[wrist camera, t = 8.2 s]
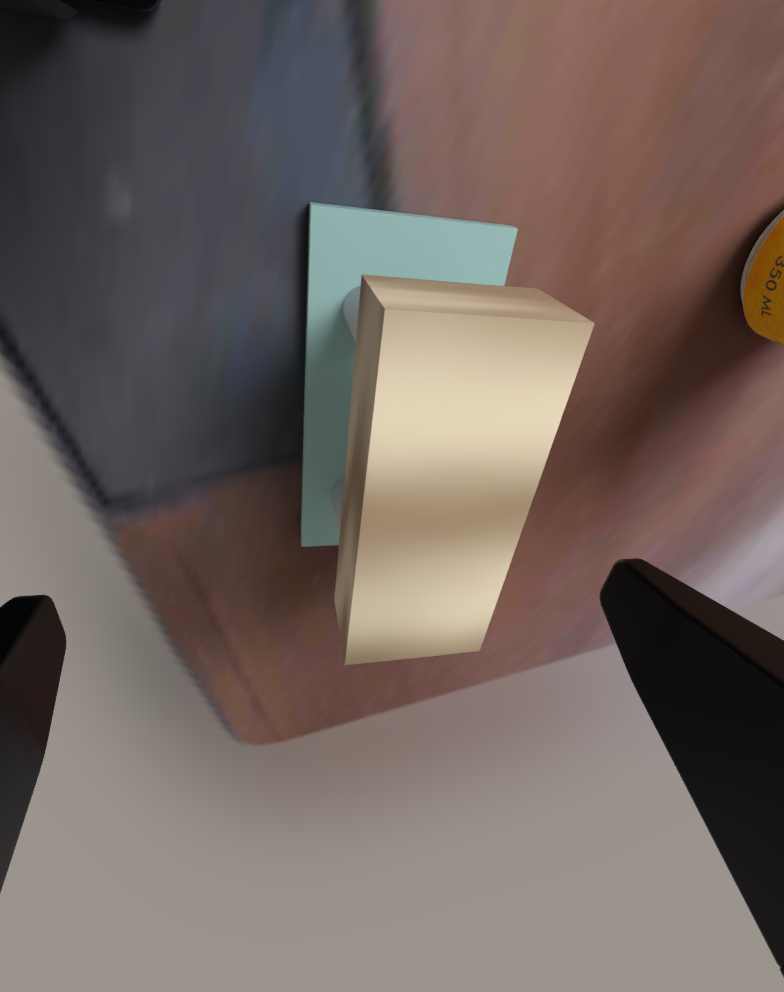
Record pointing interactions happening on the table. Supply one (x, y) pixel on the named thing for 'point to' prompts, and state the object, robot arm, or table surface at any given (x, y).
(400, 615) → the board
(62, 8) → the robot arm
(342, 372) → the peg stand
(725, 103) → the table surface
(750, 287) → the beer can
